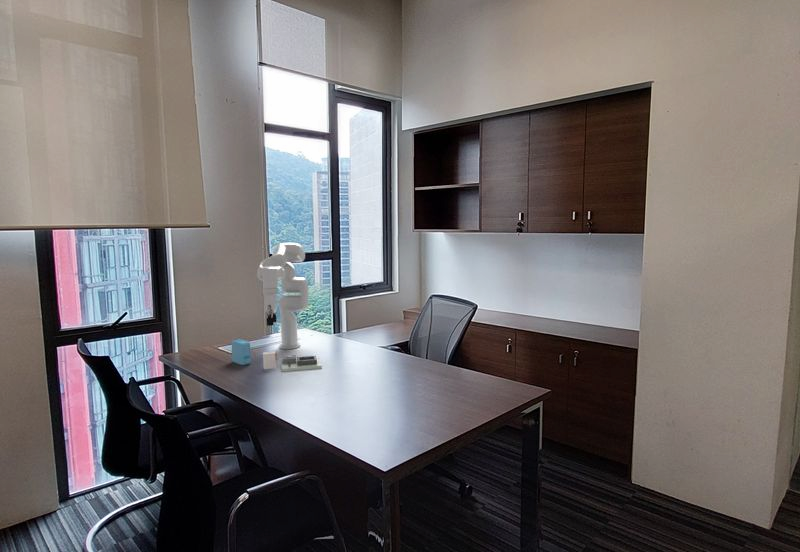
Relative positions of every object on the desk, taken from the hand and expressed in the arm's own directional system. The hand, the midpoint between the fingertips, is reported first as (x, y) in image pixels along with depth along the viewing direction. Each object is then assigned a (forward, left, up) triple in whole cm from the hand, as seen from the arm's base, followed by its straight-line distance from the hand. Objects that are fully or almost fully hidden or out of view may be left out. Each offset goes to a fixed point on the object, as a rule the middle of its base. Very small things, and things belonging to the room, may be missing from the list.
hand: (271, 323), depth 250 cm
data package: (-11, -17, -23) cm, 31 cm away
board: (+4, +14, -23) cm, 27 cm away
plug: (+3, -2, -23) cm, 23 cm away
